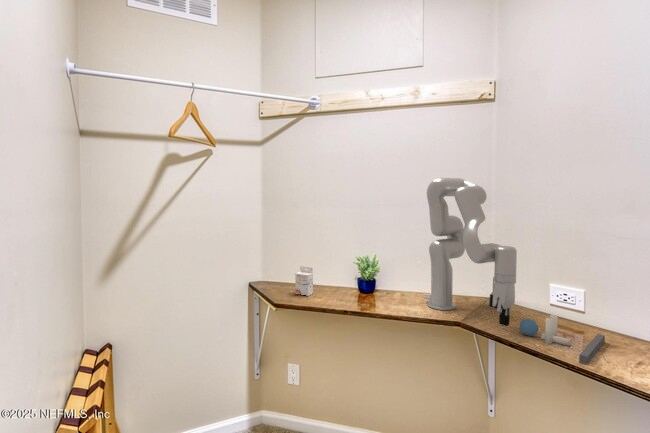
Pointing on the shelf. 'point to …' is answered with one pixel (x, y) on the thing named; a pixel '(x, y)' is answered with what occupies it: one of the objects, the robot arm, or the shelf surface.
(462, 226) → the robot arm
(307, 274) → the ink cartridge box
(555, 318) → the pin
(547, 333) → the pin
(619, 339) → the shelf surface
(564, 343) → the front pin
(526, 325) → the ball
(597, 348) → the grey long square bar
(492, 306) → the padlock
